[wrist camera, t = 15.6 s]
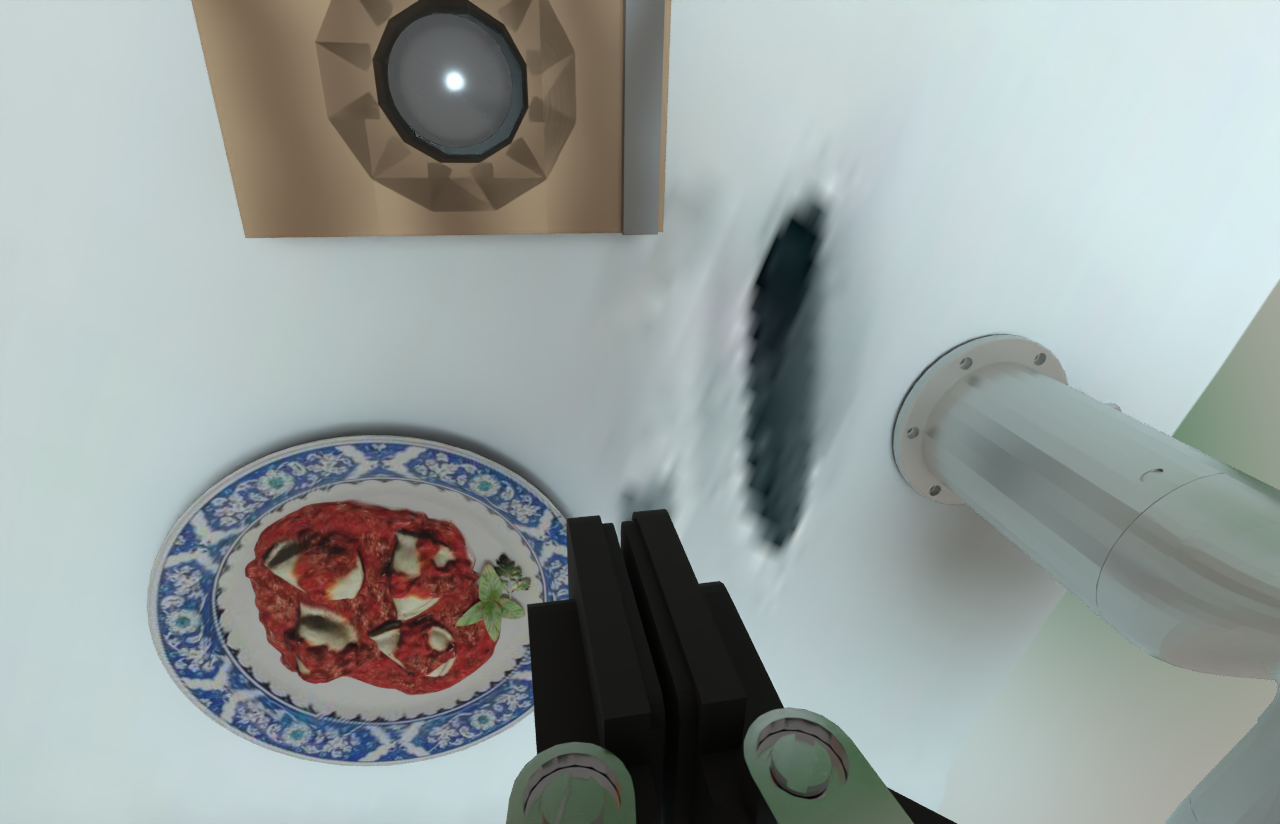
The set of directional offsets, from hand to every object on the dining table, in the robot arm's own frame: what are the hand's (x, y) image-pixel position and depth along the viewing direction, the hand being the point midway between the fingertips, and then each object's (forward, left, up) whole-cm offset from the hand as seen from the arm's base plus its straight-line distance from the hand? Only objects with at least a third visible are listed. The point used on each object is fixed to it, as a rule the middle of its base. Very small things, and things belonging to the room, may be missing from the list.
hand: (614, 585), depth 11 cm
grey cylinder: (+3, -8, -27) cm, 28 cm away
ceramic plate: (+10, +22, -28) cm, 37 cm away
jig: (+3, -8, -27) cm, 28 cm away
